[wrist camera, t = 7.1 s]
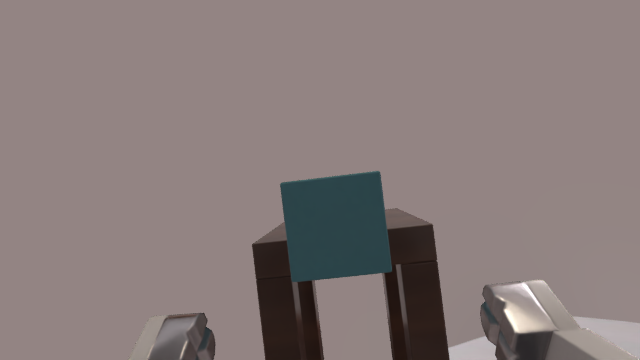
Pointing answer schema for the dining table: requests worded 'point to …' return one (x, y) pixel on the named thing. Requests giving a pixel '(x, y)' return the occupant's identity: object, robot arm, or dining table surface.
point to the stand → (399, 286)
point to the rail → (336, 227)
